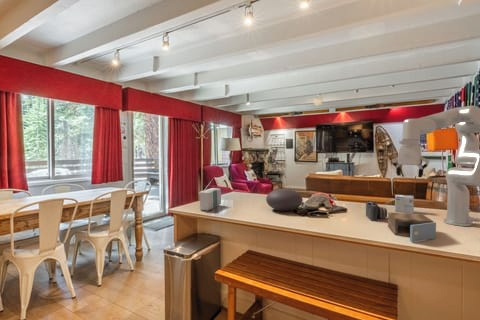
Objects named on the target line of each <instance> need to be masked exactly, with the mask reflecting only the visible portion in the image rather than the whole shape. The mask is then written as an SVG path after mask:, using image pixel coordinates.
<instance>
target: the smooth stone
mask: <svg viewBox="0 0 480 320" xmlns="http://www.w3.org/2000/svg"><path fill="white" fill-rule="evenodd" d="M265 201H266V203H267V205H268V206H269V207H270V208H271V209H274V210H277V211H281V212H288V211H289V212H290V211H294V210H296V209H298V208H300V206H302V204H303V201H304V200H303V196H302V194H300V193H299V192H298V191H296V190H294V189H290V188H277V189H274V190H272V191H270V192H269V193H268V194H267V195H266V198H265Z"/></svg>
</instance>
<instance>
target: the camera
mask: <svg viewBox="0 0 480 320" xmlns="http://www.w3.org/2000/svg"><path fill="white" fill-rule="evenodd" d="M365 216H366V217H367V219H369V221H372V222H378V219H384V218H388V210H387V208H386V207H384V206H382V207H381V206H379V205H378V204H377V202H376V201H371V200H367V201H366V203H365Z"/></svg>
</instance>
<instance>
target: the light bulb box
mask: <svg viewBox="0 0 480 320" xmlns="http://www.w3.org/2000/svg"><path fill="white" fill-rule="evenodd" d="M394 198H395V199H394V213H409V214H414V210H415V208H414V207H415V203H414V202H415V200H414V199H415V197H414V195H407V194H406V195H405V194H395V196H394Z"/></svg>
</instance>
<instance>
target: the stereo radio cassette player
mask: <svg viewBox="0 0 480 320" xmlns="http://www.w3.org/2000/svg"><path fill="white" fill-rule="evenodd" d="M211 181H213V178H212V179H211ZM210 184H211V182H209V183H208V185H206V187H205V188H204V190H201V191H199V192H198V195H199V209H200V211H207V212H208V211H210V210H213V209H214V208H216V207H218V206H221V204H222V189H221V188H220V187H219V188H217V187H211V188H208V186H210Z"/></svg>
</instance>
